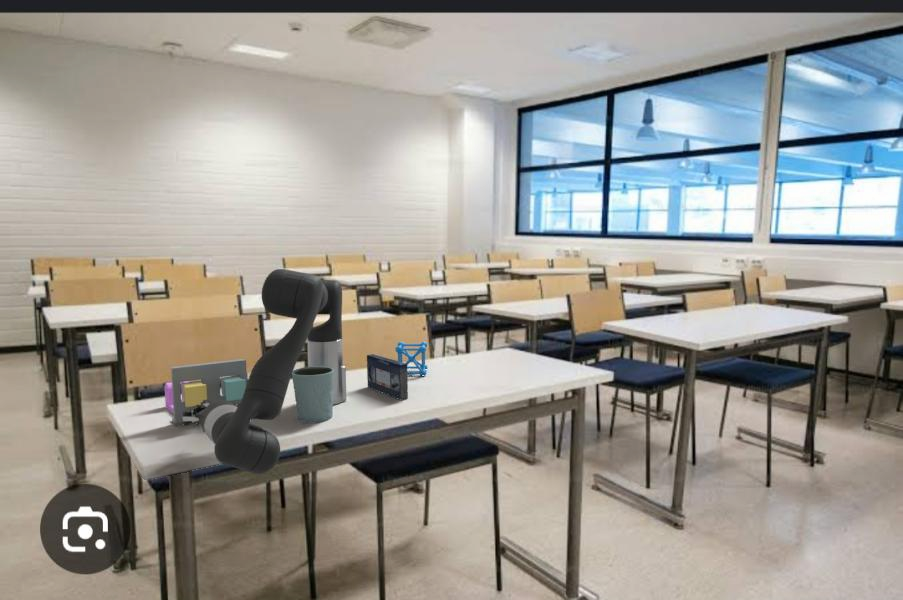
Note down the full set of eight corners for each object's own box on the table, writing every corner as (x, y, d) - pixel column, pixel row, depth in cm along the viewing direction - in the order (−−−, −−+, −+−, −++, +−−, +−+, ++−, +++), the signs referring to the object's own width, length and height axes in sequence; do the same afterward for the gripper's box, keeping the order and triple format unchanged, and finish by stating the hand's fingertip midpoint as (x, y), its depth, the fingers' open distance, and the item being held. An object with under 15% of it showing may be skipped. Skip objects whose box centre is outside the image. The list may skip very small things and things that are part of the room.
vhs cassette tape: (366, 387, 178) (366, 354, 177) (375, 385, 180) (375, 353, 179) (399, 400, 164) (398, 365, 162) (408, 399, 165) (408, 363, 164)
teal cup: (342, 417, 148) (341, 370, 147) (306, 426, 141) (305, 377, 140) (321, 409, 155) (320, 364, 154) (285, 417, 149) (284, 370, 147)
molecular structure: (426, 377, 191) (426, 346, 190) (395, 377, 191) (394, 346, 190) (427, 370, 201) (427, 340, 200) (398, 370, 201) (397, 340, 200)
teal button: (239, 392, 150) (238, 374, 150) (246, 398, 145) (245, 379, 145) (220, 395, 148) (219, 377, 147) (226, 401, 143) (225, 382, 142)
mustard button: (201, 397, 146) (200, 379, 145) (207, 404, 140) (206, 384, 140) (181, 400, 143) (180, 382, 143) (186, 407, 138) (185, 387, 137)
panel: (243, 409, 155) (240, 356, 154) (248, 414, 151) (246, 360, 150) (172, 420, 146) (169, 364, 145) (175, 426, 142) (172, 368, 140)
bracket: (165, 407, 158) (164, 381, 157) (187, 403, 162) (186, 378, 161) (180, 418, 148) (178, 391, 147) (203, 414, 152) (201, 387, 151)
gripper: (259, 399, 118) (237, 382, 132) (187, 410, 110) (172, 391, 125) (260, 436, 118) (238, 415, 133) (189, 449, 111) (174, 426, 126)
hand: (206, 404), depth 129 cm, fingers closed
